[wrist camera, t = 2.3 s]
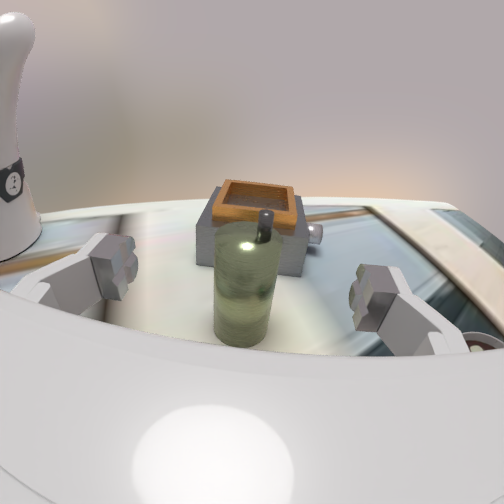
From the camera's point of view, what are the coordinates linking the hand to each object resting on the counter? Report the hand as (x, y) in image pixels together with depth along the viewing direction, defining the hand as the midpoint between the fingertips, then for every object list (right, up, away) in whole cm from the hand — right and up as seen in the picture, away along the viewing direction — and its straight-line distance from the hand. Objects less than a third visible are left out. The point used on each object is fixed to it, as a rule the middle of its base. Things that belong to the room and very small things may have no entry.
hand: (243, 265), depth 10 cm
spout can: (-1, -7, +20) cm, 21 cm away
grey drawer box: (+2, +2, +34) cm, 34 cm away
